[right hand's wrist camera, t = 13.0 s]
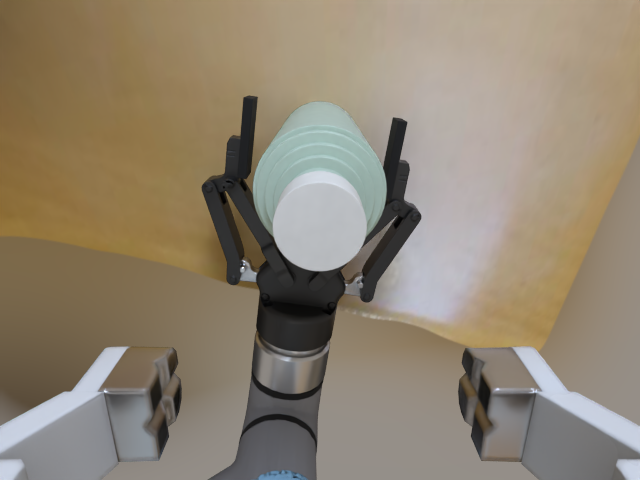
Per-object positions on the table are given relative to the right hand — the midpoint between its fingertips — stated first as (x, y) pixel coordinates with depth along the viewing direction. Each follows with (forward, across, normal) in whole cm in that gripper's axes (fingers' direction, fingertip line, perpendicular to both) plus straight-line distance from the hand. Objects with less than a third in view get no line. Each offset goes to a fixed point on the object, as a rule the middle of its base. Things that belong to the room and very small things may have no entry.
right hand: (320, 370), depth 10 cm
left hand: (+30, 0, -4) cm, 30 cm away
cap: (+10, 0, 0) cm, 10 cm away
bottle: (+36, 0, 0) cm, 36 cm away
